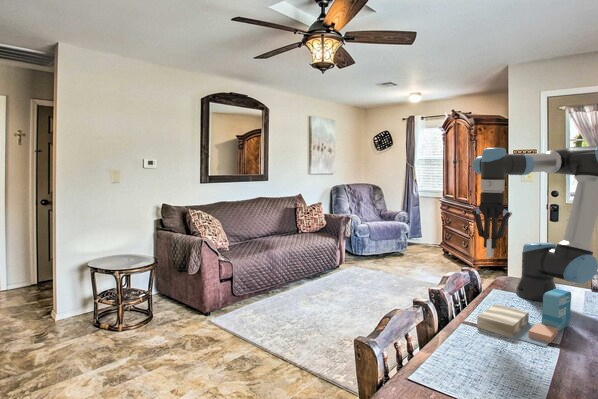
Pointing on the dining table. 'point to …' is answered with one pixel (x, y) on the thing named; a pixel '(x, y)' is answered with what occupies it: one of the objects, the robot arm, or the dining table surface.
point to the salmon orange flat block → (543, 332)
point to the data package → (556, 308)
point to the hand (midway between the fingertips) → (489, 257)
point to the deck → (503, 320)
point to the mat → (524, 337)
